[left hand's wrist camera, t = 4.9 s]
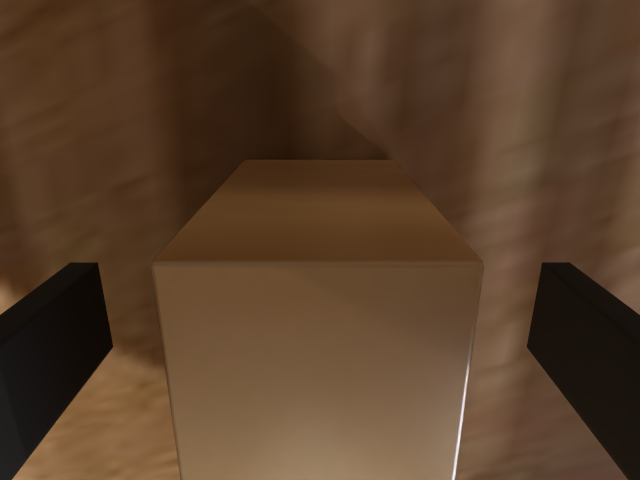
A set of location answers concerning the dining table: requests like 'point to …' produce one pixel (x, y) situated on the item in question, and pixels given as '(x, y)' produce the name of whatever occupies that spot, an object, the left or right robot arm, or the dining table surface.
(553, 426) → the dining table surface
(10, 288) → the dining table surface
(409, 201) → the bar
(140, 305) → the dining table surface
